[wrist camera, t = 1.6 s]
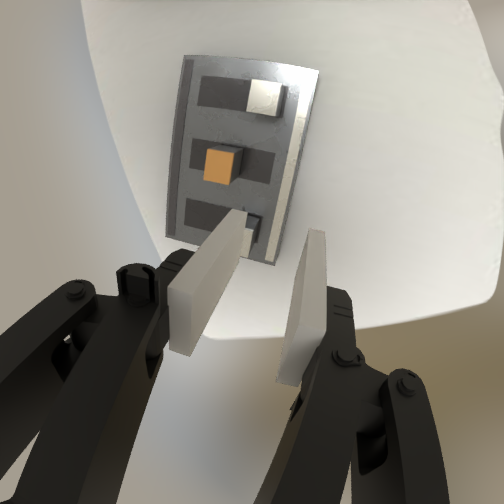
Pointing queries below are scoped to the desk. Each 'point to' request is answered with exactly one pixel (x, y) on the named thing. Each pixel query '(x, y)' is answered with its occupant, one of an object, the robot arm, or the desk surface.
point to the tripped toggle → (223, 164)
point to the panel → (241, 136)
